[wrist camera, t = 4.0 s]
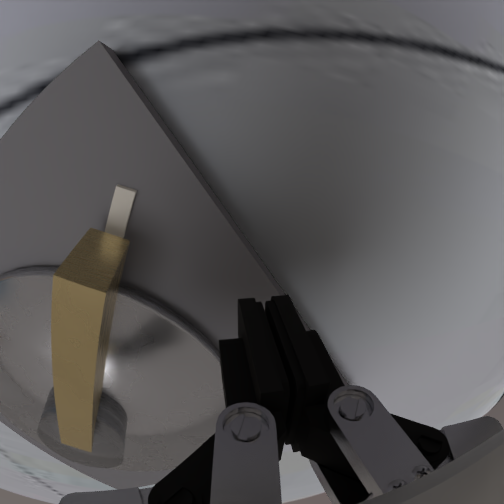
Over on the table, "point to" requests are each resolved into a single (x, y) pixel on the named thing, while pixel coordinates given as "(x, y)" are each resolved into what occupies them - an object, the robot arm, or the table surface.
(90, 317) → the capstan dial
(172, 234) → the dial base
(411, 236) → the table surface
